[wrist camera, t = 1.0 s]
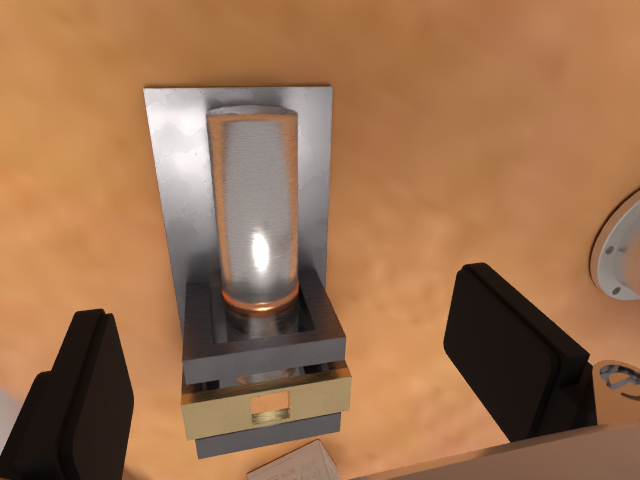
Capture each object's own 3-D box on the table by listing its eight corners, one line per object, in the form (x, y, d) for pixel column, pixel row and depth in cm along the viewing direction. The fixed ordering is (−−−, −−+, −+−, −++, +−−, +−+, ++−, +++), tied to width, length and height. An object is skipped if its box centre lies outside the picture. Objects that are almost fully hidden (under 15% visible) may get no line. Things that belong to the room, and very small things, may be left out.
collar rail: (330, 85, 27) (381, 113, 19) (320, 378, 39) (349, 467, 31) (144, 87, 24) (119, 120, 17) (193, 399, 36) (191, 502, 29)
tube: (199, 106, 25) (211, 126, 21) (284, 103, 26) (311, 120, 22) (224, 346, 33) (235, 395, 29) (287, 333, 35) (307, 377, 31)
